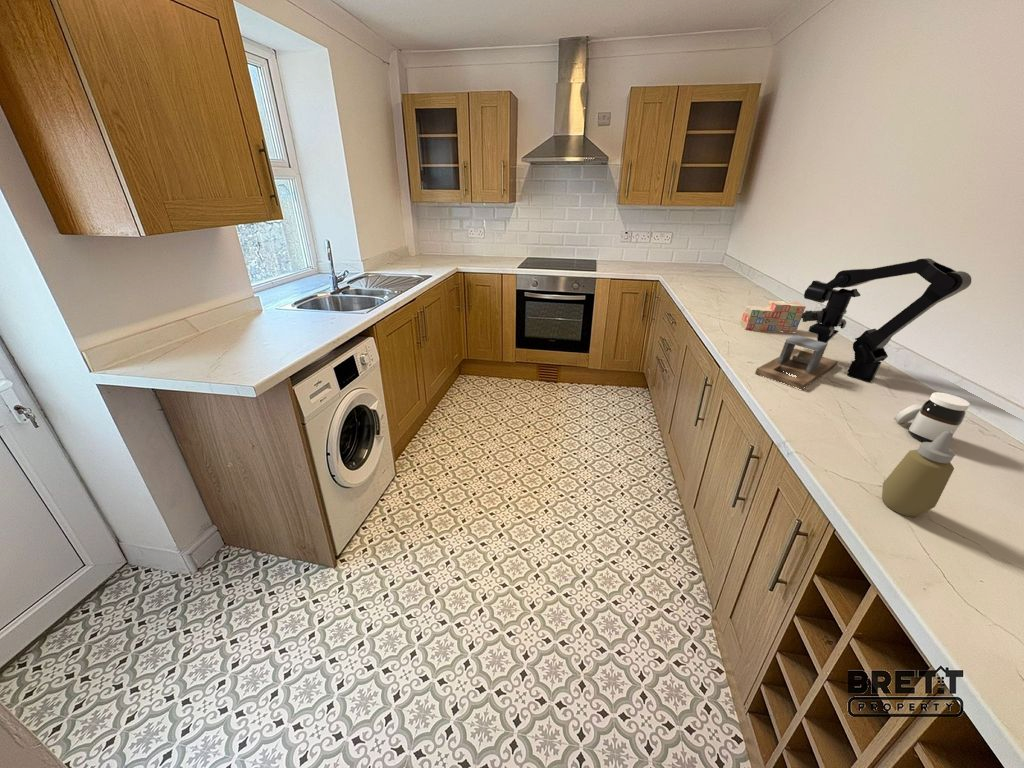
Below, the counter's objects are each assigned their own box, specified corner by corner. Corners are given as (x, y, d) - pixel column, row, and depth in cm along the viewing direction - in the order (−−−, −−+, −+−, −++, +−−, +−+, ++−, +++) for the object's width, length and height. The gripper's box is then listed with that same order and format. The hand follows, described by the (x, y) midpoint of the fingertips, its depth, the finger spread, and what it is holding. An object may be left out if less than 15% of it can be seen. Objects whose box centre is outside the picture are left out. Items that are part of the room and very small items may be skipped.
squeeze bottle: (901, 492, 85) (947, 420, 76) (938, 522, 78) (994, 446, 69) (864, 492, 84) (907, 420, 76) (898, 522, 77) (949, 445, 69)
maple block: (812, 362, 141) (817, 351, 139) (808, 364, 139) (812, 354, 137) (800, 358, 144) (804, 347, 142) (795, 360, 142) (799, 350, 140)
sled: (829, 354, 148) (836, 339, 145) (811, 365, 138) (818, 350, 135) (811, 348, 152) (817, 334, 150) (791, 359, 142) (797, 344, 139)
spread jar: (943, 452, 99) (970, 411, 94) (885, 431, 107) (907, 392, 101) (950, 435, 106) (975, 397, 100) (895, 416, 113) (916, 380, 108)
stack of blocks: (745, 330, 176) (754, 302, 170) (739, 325, 181) (747, 298, 176) (795, 333, 175) (806, 306, 169) (788, 328, 180) (798, 301, 175)
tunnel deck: (835, 366, 144) (849, 337, 139) (801, 390, 126) (814, 358, 121) (793, 353, 154) (804, 325, 148) (754, 373, 135) (765, 343, 130)
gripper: (819, 297, 150) (803, 336, 157) (800, 304, 140) (784, 346, 147) (854, 305, 143) (836, 345, 150) (838, 313, 132) (819, 356, 139)
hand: (818, 348), depth 147 cm, fingers closed
